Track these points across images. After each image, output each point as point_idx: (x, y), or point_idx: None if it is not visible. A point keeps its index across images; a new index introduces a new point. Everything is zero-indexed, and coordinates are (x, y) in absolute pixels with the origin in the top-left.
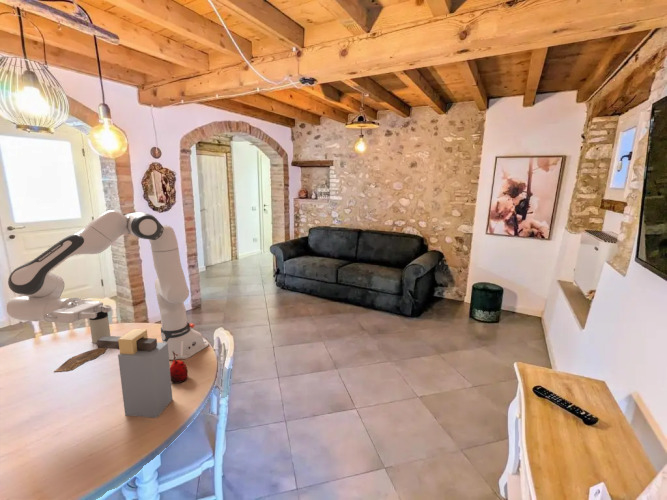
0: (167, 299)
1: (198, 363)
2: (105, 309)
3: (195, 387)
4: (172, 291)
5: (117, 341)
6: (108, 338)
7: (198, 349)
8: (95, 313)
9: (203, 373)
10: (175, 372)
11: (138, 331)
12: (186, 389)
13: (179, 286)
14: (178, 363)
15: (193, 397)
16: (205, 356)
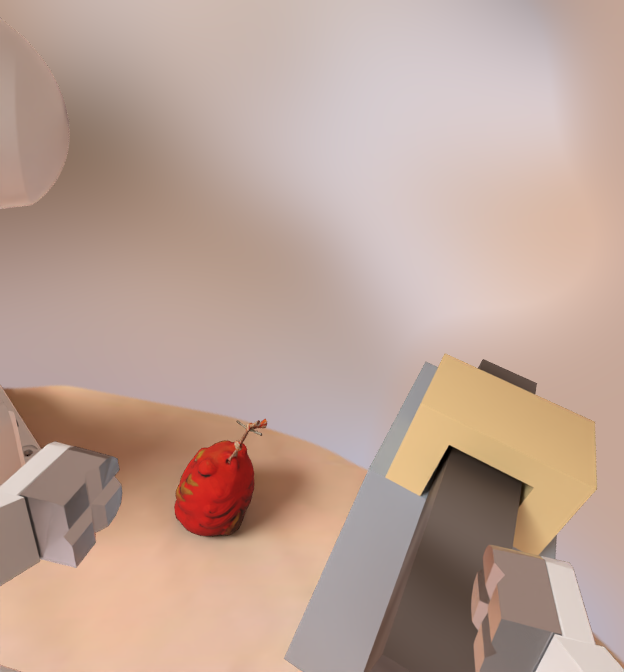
0: (5, 180)
1: (126, 437)
2: (91, 505)
3: (294, 471)
4: (42, 101)
5: (514, 530)
6: (455, 602)
7: (15, 411)
8: (529, 554)
9: (215, 436)
10: (250, 489)
11: (469, 386)
12: (294, 497)
13: (39, 55)
14: (239, 455)
15: (350, 484)
16: (86, 408)
